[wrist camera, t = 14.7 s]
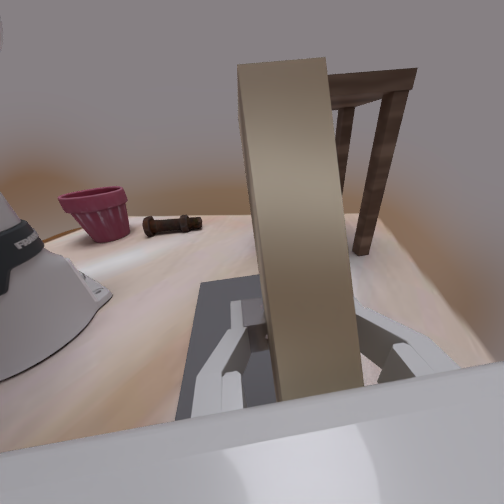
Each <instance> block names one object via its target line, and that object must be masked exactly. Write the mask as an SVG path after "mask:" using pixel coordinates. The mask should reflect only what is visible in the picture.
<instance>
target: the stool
mask: <svg viewBox="0 0 504 504" xmlns="http://www.w3.org/2000/svg"><path fill="white" fill-rule="evenodd" d="M416 72H417V68H409V69H396V70H383V71H370V72H359V73H346V74H333V75H328V83H329V92H330V100H331V109H332V110H338V118H337V128H336V137H335V143H336V151H337V160H338V168H339V177H340V186H341V194H342V193H343V187H344V180H345V173H346V165H347V159H348V152H349V144H350V137H351V131H352V124H353V117H354V109H355V107H356V106H360V105H363V104H366V103H369V102H373V101H376V100H379V99H382V102H381V107H380V112H379V117H378V122H377V127H376V132H375V137H374V142H373V148H372V152H371V157H370V162H369V167H368V173H367V178H366V183H365V188H364V193H363V198H362V203H361V209H360V213H359V218H358V223H357V228H356V233H355V238H354V244H353V249H352V251H353V252H354V253H355V254H356V255H358V256H362V255H368V254H369V250H370V246H371V242H372V238H373V234H374V230H375V226H376V222H377V218H378V214H379V210H380V206H381V202H382V198H383V194H384V190H385V185H386V181H387V178H388V174H389V169H390V166H391V162H392V158H393V153H394V149H395V146H396V142H397V137H398V133H399V129H400V125H401V121H402V117H403V113H404V109H405V105H406V101H407V97H408V93H409V90H411V89H412V88H413V84H414V80H415V76H416Z"/></svg>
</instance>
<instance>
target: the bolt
mask: <svg viewBox="0 0 504 504" xmlns="http://www.w3.org/2000/svg"><path fill="white" fill-rule="evenodd" d="M201 227H202V219H201V218H200V217H196V218H194V217H191V218H189V217H188V216H187V215H182V216H180V219H168V220H154V219H153V217H152V216H149V217H146V218H144V220H143V229H144V232H145V234H146V235H147V236H148V237H151V236H154V235H155V234H156V233H157V232H161V231H172V230H182V231H183V232H189V231H190V229H195V228H201Z"/></svg>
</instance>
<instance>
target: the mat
mask: <svg viewBox="0 0 504 504" xmlns="http://www.w3.org/2000/svg"><path fill="white" fill-rule="evenodd" d="M260 297H261V299H262V303H263V298H262V291H261V284H260V276H259V275H252V276H245V277H238V278H231V279H224V280H216V281H209V282H202V283H201V284H200V290H199V295H198V300H197V306H196V311H195V316H194V322H193V327H192V332H191V338H190V343H189V348H188V353H187V359H186V364H185V369H184V375H183V380H182V385H181V391H180V396H179V401H178V407H177V412H176V417H175V421H177V420H183V419H188V418H191V413H192V406H193V399H194V391H195V384H196V377H197V375H198V374H199V372H200V371H201V369H202V368H203V366H204V365H205V363H206V362H207V360H208V359H209V357H210V356H211V354H212V353H213V351H214V350H215V348H216V347H217V345H218V344H219V342H220V341H221V339H222V338H223V336H224V335H225V333H226V332H227V330H228V329H231V309H230V303H231V301H238V300H244V299H252V298H260ZM263 310H264V306H263ZM267 336H268V335H267ZM242 382H243V387H244V392H245V397H246V402H247V407H254V406H259V405H265V404H270V403H276V394H275V387H274V380H273V372H272V365H271V357H270V350H265V351H259V352H254V353H251V356H250V359H249V361H248V363H247V366H246V368H245V371H244V373H243V376H242Z"/></svg>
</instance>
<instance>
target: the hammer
mask: <svg viewBox="0 0 504 504" xmlns="http://www.w3.org/2000/svg"><path fill="white" fill-rule="evenodd" d="M237 75H238V121H239V129H240V136H241V143H242V151H243V158H244V166H245V173H246V179H247V187H248V194H249V202H250V210H251V217H252V225H253V232H254V239H255V247H256V254H257V261H258V269H259V276H260V284H261V291H262V298H263V306H264V312H265V317H266V321H267V331H268V334H267V335H268V343H269V350H270V357H271V365H272V372H273V380H274V387H275V394H276V402H281V401H287V400H292V399H298V398H303V397H308V396H314V395H319V394H325V393H330V392H336V391H341V390H347V389H352V388H358V387H363V386H364V381H363V373H362V364H361V356H360V347H359V339H358V330H357V322H356V313H355V305H354V296H353V288H352V279H351V271H350V262H349V254H348V245H347V237H346V228H345V220H344V212H343V203H342V194H341V186H340V177H339V168H338V160H337V151H336V143H335V136H334V135H335V134H334V127H333V118H332V109H331V100H330V92H329V83H328V75H327V66H326V58H325V57H321V58H311V59H310V58H309V59H298V60H285V61H274V62H262V63H250V64H239V65H237Z"/></svg>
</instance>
